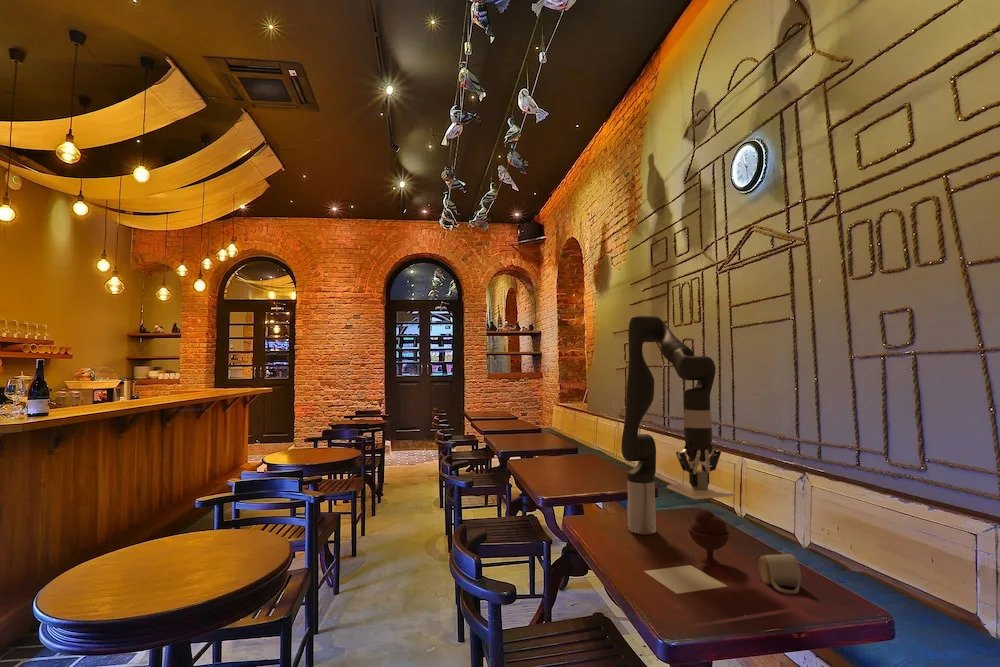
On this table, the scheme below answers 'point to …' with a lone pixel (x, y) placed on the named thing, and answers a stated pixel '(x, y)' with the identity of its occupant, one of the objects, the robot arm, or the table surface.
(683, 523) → the table surface
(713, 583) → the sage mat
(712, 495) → the cover board
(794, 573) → the ceramic mug
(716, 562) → the ice cream bowl
